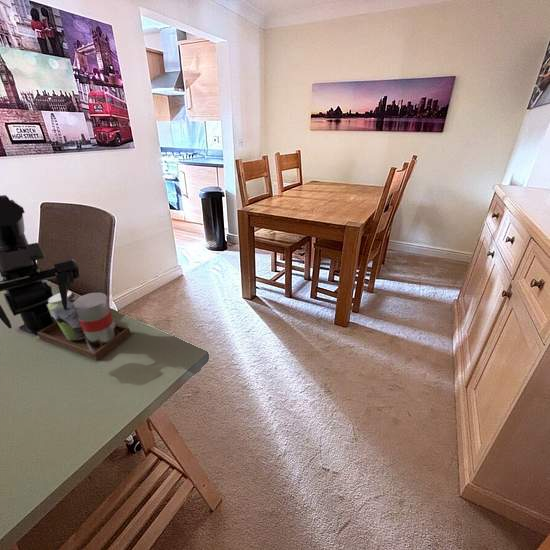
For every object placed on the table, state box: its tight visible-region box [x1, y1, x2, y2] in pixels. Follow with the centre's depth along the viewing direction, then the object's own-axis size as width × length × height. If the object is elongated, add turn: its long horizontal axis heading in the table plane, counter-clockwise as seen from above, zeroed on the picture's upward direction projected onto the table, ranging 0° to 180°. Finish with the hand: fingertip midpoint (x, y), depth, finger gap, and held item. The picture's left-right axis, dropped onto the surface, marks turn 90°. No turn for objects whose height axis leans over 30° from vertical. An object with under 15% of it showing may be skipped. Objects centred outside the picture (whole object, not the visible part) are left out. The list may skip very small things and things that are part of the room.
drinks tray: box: [36, 321, 132, 362], centre depth 76 cm, size 19×10×2 cm, turn 68°
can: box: [74, 292, 117, 350], centre depth 71 cm, size 7×7×12 cm
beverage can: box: [47, 290, 85, 340], centre depth 73 cm, size 6×7×12 cm
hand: (39, 318), depth 60 cm, fingers open, 9 cm apart
